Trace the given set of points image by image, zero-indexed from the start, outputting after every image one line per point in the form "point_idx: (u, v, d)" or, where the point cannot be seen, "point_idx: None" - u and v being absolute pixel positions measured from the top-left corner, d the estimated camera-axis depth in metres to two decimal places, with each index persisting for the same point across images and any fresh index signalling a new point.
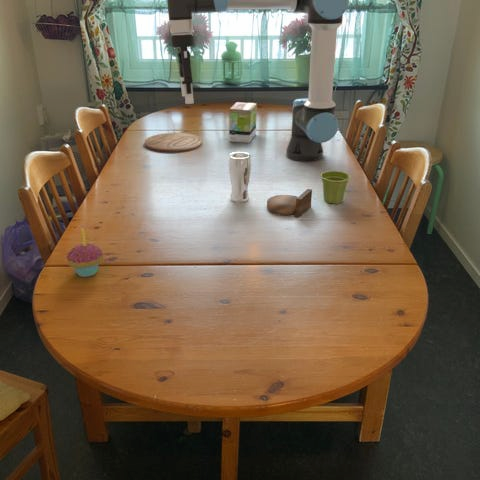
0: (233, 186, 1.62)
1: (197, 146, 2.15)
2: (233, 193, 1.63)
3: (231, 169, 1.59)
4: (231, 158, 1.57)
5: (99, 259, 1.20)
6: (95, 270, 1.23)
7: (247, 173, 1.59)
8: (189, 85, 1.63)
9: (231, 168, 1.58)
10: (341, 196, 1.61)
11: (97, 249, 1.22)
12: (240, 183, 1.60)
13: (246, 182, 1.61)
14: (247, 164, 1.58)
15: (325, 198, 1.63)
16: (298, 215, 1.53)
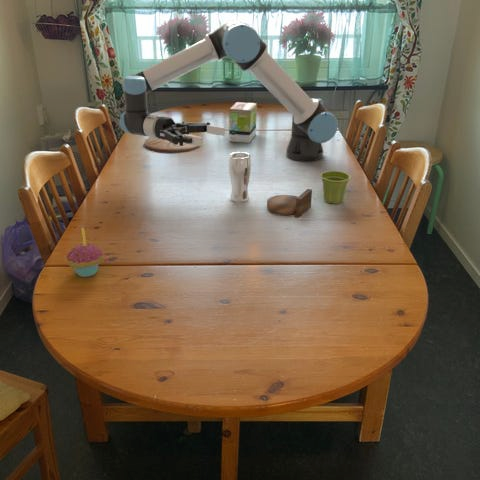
0: (233, 186, 1.62)
1: (197, 146, 2.15)
2: (233, 193, 1.63)
3: (231, 169, 1.59)
4: (231, 158, 1.57)
5: (99, 259, 1.20)
6: (95, 270, 1.23)
7: (247, 173, 1.59)
8: (182, 139, 1.57)
9: (231, 168, 1.58)
10: (341, 196, 1.61)
11: (97, 249, 1.22)
12: (240, 183, 1.60)
13: (246, 182, 1.61)
14: (247, 164, 1.58)
15: (325, 198, 1.63)
16: (298, 215, 1.53)
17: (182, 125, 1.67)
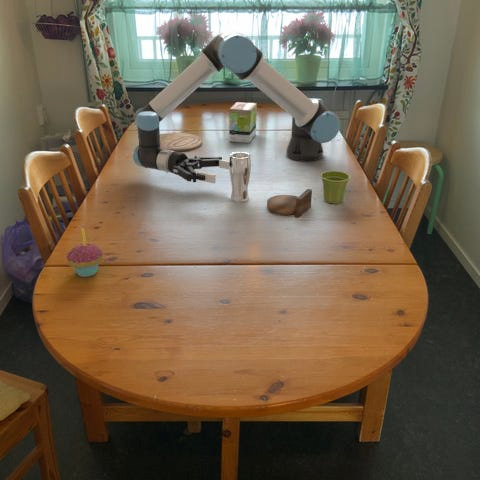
0: (233, 186, 1.62)
1: (197, 146, 2.15)
2: (233, 193, 1.63)
3: (231, 169, 1.59)
4: (231, 158, 1.57)
5: (99, 259, 1.20)
6: (95, 270, 1.23)
7: (247, 173, 1.59)
8: (196, 176, 1.60)
9: (231, 168, 1.58)
10: (341, 196, 1.61)
11: (97, 249, 1.22)
12: (240, 183, 1.60)
13: (246, 182, 1.61)
14: (247, 164, 1.58)
15: (325, 198, 1.63)
16: (298, 215, 1.53)
17: (195, 160, 1.70)
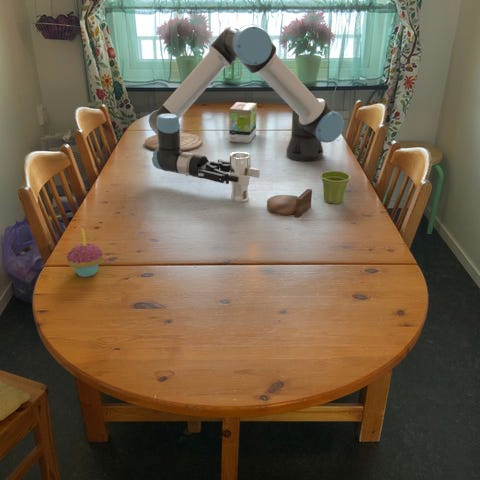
0: (233, 186, 1.62)
1: (197, 146, 2.15)
2: (233, 193, 1.63)
3: (231, 169, 1.59)
4: (231, 158, 1.57)
5: (99, 259, 1.20)
6: (95, 270, 1.23)
7: (247, 173, 1.59)
8: (229, 177, 1.58)
9: (231, 168, 1.58)
10: (341, 196, 1.61)
11: (97, 249, 1.22)
12: None
13: None
14: (247, 164, 1.58)
15: (325, 198, 1.63)
16: (298, 215, 1.53)
17: (215, 164, 1.66)
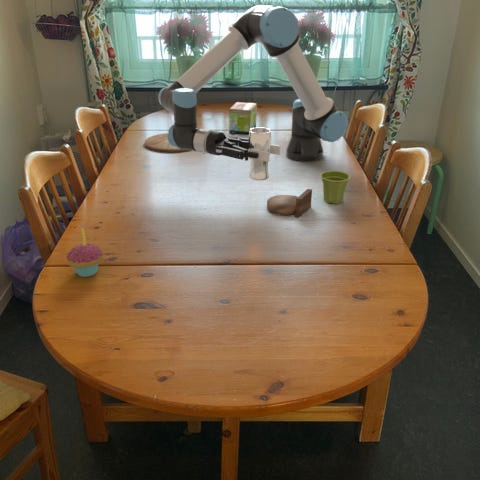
0: (252, 163, 1.54)
1: None
2: (252, 171, 1.55)
3: (251, 145, 1.51)
4: (251, 133, 1.49)
5: (99, 259, 1.20)
6: (95, 270, 1.23)
7: (267, 149, 1.51)
8: (248, 154, 1.50)
9: (251, 144, 1.51)
10: (341, 196, 1.61)
11: (97, 249, 1.22)
12: (260, 160, 1.52)
13: None
14: (268, 139, 1.50)
15: (325, 198, 1.63)
16: (298, 215, 1.53)
17: (234, 140, 1.58)
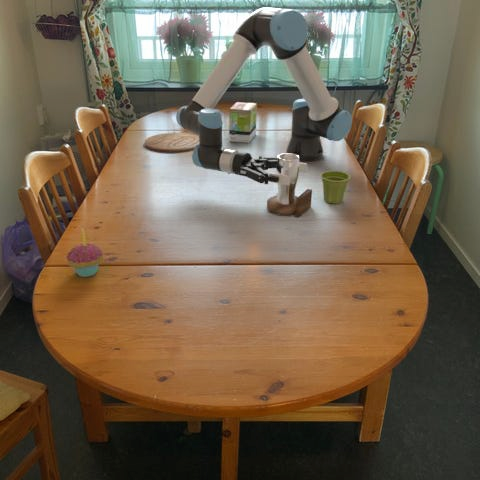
0: (280, 189, 1.54)
1: None
2: (280, 196, 1.55)
3: (279, 171, 1.51)
4: (280, 160, 1.50)
5: (99, 259, 1.20)
6: (95, 270, 1.23)
7: (296, 176, 1.51)
8: (268, 177, 1.48)
9: (279, 170, 1.51)
10: (341, 196, 1.61)
11: (97, 249, 1.22)
12: (288, 186, 1.52)
13: (294, 185, 1.53)
14: (296, 166, 1.50)
15: (325, 198, 1.63)
16: (298, 215, 1.53)
17: (261, 161, 1.58)
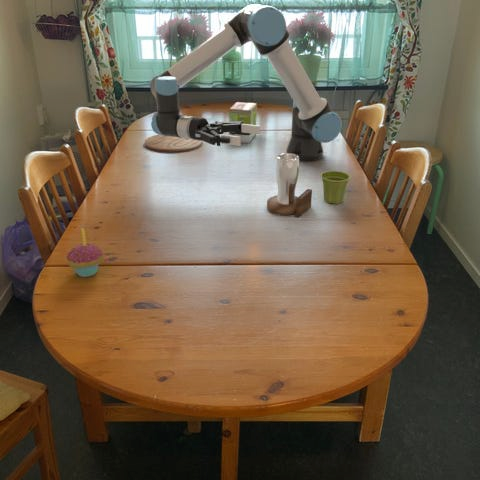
0: (280, 189, 1.54)
1: (197, 146, 2.15)
2: (280, 196, 1.56)
3: (279, 171, 1.51)
4: (279, 160, 1.50)
5: (99, 259, 1.20)
6: (95, 270, 1.23)
7: (295, 175, 1.51)
8: (220, 139, 1.54)
9: (279, 170, 1.51)
10: (341, 196, 1.61)
11: (97, 249, 1.22)
12: (288, 186, 1.53)
13: (294, 185, 1.53)
14: (296, 166, 1.50)
15: (325, 198, 1.63)
16: (298, 215, 1.53)
17: (216, 125, 1.64)
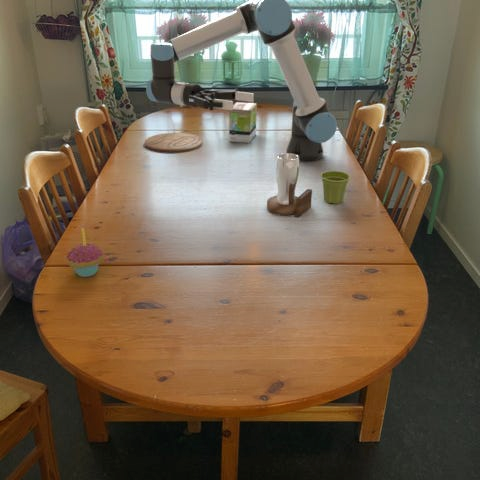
0: (280, 189, 1.54)
1: (197, 146, 2.15)
2: (280, 196, 1.56)
3: (279, 171, 1.51)
4: (279, 160, 1.50)
5: (99, 259, 1.20)
6: (95, 270, 1.23)
7: (296, 175, 1.52)
8: (213, 103, 1.55)
9: (279, 170, 1.51)
10: (341, 196, 1.61)
11: (97, 249, 1.22)
12: (288, 186, 1.53)
13: (294, 185, 1.53)
14: (296, 166, 1.50)
15: (325, 198, 1.63)
16: (298, 215, 1.53)
17: (210, 91, 1.65)
